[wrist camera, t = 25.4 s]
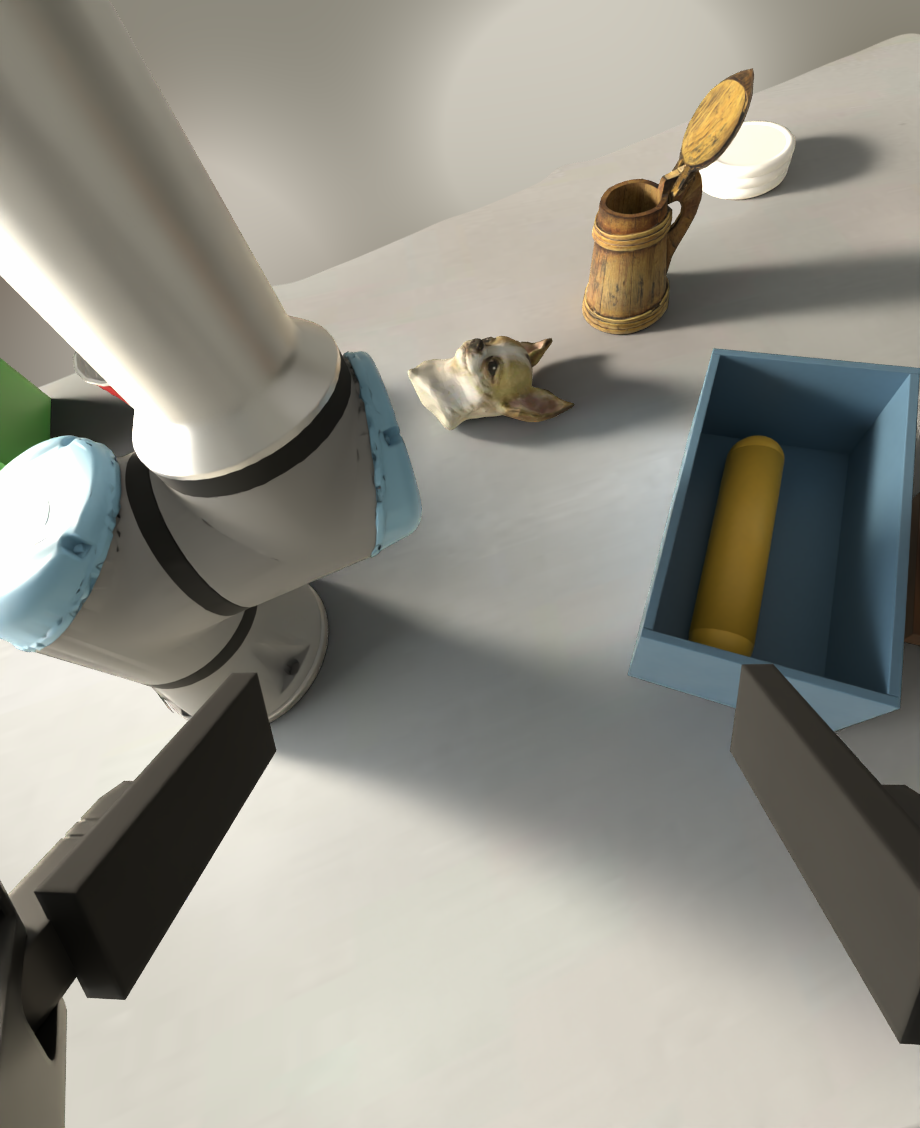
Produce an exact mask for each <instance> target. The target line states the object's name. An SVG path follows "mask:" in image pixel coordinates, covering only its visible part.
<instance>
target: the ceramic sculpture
mask: <svg viewBox="0 0 920 1128" xmlns="http://www.w3.org/2000/svg"><path fill="white" fill-rule="evenodd" d="M551 343H552V338H549V339H545V340H542V341H540V342H537V343H530V342H521V343H520V342H518V341H515V340H513V339H511V338H509V337H506V336H499V337H496V338H492V337H488V338H485V339H482V340H481V339H478V338H476V339H473V340H468V341H466V342H464V343H463V345H462V346H461V347H460V348H458V350H457V352H456V355H455V357H454V358H451V359H446V360H441V359H432V360H428V361H424V362H422V363H421V364H420V365H418V366H417V367H416V368H414V369H410V370H409V371H408V376H409V378H410V380H411V382H412V384H413V386H414V388H415V390H416V392H417V394H418V396H419V398H420V400H421V402H422V404H423V405H424V406H425V407H426V408H427V409H429V410H430V411H431V412H432V413H433V414H434V415H435V416H436V417H437V418H438V420H439V421H440V422H441V423H442V425H443V426H444V427H445V428H446V429H447V430H453V429H454V428H456V427H457V426H458V425H459V424H460V423H461V422H463V421H464V420H467V419H475V418H481V417H494V416H501V415H505V416H507V417H511V418H515V419H517V420H522V421H526V422H540V421H544V420H546V419H550V418H553V417H555V416H558V415H559V414H561V413H563V412H565V411H567V410H568V409H570V408H572V407H573V406H574V405H575V404H574V403H571V402H567V401H564V400H562V399H560V398H558V397H557V396H555V395H554V394H553V393H551V392H550V391H548V390H545V389H540V388H538V387H536V388H534V387H533V386H532V367H533V366H535V365H536V364H537V363H538V362H539V360H540V359H541V358H542V356H543V355H544V353H545V351H546V350H547V349H548V347H549V346H550V345H551Z"/></svg>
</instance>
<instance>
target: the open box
mask: <svg viewBox="0 0 920 1128" xmlns="http://www.w3.org/2000/svg"><path fill="white" fill-rule="evenodd" d="M919 378H920V368H914V367H903V366H893V365H882V364H872V363H862V362H851V361H841V360H830V359H820V358H809V357H799V356H788V355H778V354H767V353H757V352H746V351H736V350H726V349H715V348H714V349H713V352H712V355H711V359H710V362H709V366H708V369H707V373H706V376H705V380H704V383H703V387H702V390H701V394H700V397H699V401H698V404H697V408H696V411H695V415H694V418H693V422H692V425H691V429H690V433H689V436H688V440H687V444H686V448H685V452H684V456H683V460H682V464H681V468H680V472H679V476H678V479H677V483H676V487H675V491H674V495H673V499H672V503H671V507H670V511H669V515H668V519H667V522H666V526H665V530H664V534H663V538H662V542H661V546H660V550H659V554H658V558H657V562H656V565H655V569H654V573H653V577H652V581H651V585H650V589H649V593H648V597H647V601H646V605H645V608H644V612H643V616H642V620H641V624H640V628H639V632H638V636H637V640H636V644H635V648H634V651H633V655H632V659H631V663H630V667H629V671H628V676H632V677H635V678H638V679H641V680H645V681H648V682H651V683H655V684H658V685H661V686H664V687H668V688H671V689H674V690H677V691H681V692H684V693H687V694H691V695H694V696H697V697H700V698H704V699H707V700H710V701H713V702H717V703H720V704H723V705H727V706H730V707H733V708H736V703H737V696H738V688H739V681H740V673H741V666H742V664H774V665H775V667H776V668H777V669H778V670H779V671H780V672H781V673H782V674H783V675H784V677H785V678H786V679H787V680H788V681H789V682H790V683H791V684H792V685H793V687H794V688H795V689H796V690H797V691H798V692H799V693H800V694H801V696H802V697H803V698H804V699H805V700H806V701H807V702H808V703H809V704H810V706H811V707H812V708H813V709H814V710H815V711H816V712H817V713H818V714H819V716H820V717H821V718H822V719H823V720H824V721H825V722H826V723H827V725H828V726H829V727H830V728H831V729H832V730H833V731H837V730H840V729H843V728H846V727H849V726H851V725H854V724H857V723H860V722H863V721H866V720H869V719H871V718H874V717H877V716H880V715H883V714H886V713H889V712H892V711H894V710H897V709H900V702H901V699H900V697H901V685H902V668H903V651H904V634H905V617H906V600H907V583H908V566H909V549H910V532H911V515H912V498H913V481H914V464H915V447H916V430H917V413H918V396H919ZM757 435H759V436H766V437H769V438H771V439H773V440H774V441H776V442H777V443H778V444H779V445H780V446H781V448H782V450H783V453H784V467H783V473H782V479H781V485H780V491H779V498H778V504H777V510H776V516H775V522H774V528H773V534H772V540H771V546H770V553H769V559H768V565H767V571H766V577H765V583H764V589H763V595H762V601H761V608H760V614H759V620H758V626H757V632H756V638H755V644H754V649H753V652H752V655H751V656H750V657H748V656H744V655H740V654H737V653H733V652H729V651H726V650H722V649H718V648H715V647H711V646H707V645H704V644H700V643H696V642H693V641H689V640H688V638H689V630H690V626H691V621H692V616H693V612H694V607H695V602H696V598H697V593H698V588H699V584H700V579H701V574H702V570H703V565H704V560H705V556H706V551H707V546H708V542H709V537H710V532H711V527H712V523H713V518H714V513H715V509H716V504H717V499H718V495H719V490H720V485H721V481H722V476H723V471H724V467H725V462H726V458H727V455H728V453H729V451H730V449H731V448H732V447H733V446H734V445H735V444H736V443H737V442H738V441H740V440H742V439H744V438H746V437H749V436H757Z"/></svg>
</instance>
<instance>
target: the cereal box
mask: <svg viewBox="0 0 920 1128" xmlns="http://www.w3.org/2000/svg"><path fill="white" fill-rule="evenodd" d="M50 420H51V398H50V397H48V396H47V395H46V394H45V393H43V392H42V391H41V390H40V389H38V388H37V387H36V386H35V385H33V384H32V383H31V382H30V381H28V380H27V379H26V378H25V377H23V376H22V375H21V374H20V373H18V372H17V371H16V370H14V369H13V368H12V367H11V366H9V365H8V364H7V363H6V362H5V361H3V360H2V359H1V358H0V471H1V470H2V469H3V468H4V467H5V466H6V465H7V464H8V463H10V462H11V461H12V460H13V459H15V458H16V457H17V456H19V455H20V454H22V453H23V452H25V451H26V450H28V449H29V448H31V447H33V446H35V445H37V444H39V443H41V442H43V441H46V440H49V439H50Z"/></svg>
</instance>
